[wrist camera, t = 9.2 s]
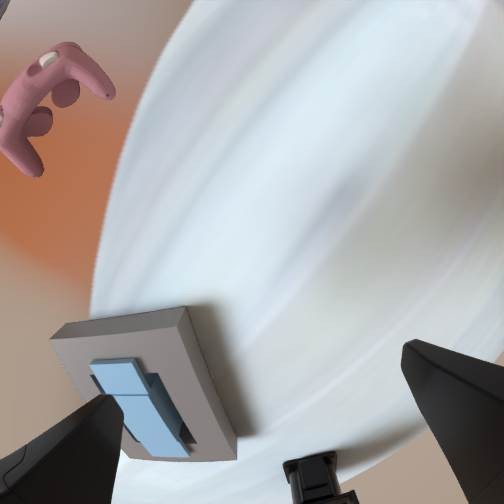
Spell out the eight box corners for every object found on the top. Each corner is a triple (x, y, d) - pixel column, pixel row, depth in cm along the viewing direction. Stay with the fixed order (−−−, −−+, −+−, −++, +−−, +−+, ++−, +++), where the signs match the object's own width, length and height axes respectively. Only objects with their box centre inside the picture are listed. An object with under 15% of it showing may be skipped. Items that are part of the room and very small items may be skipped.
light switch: (237, 437, 23) (236, 459, 20) (136, 439, 23) (129, 458, 20) (185, 305, 19) (176, 326, 16) (66, 323, 19) (48, 339, 16)
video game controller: (113, 71, 16) (62, 23, 9) (124, 96, 15) (61, 38, 8) (36, 152, 17) (-19, 124, 10) (38, 186, 16) (-28, 159, 9)
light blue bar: (147, 335, 20) (130, 364, 16) (194, 429, 23) (189, 459, 19) (108, 339, 20) (87, 366, 16) (159, 429, 23) (152, 457, 19)
